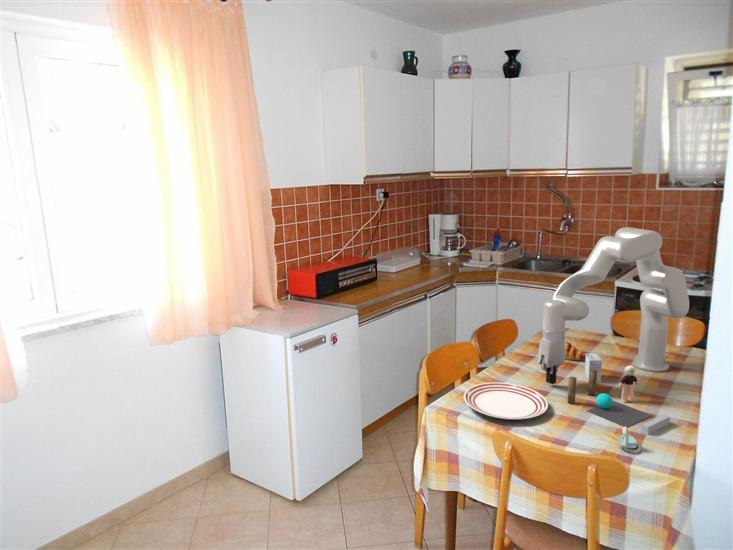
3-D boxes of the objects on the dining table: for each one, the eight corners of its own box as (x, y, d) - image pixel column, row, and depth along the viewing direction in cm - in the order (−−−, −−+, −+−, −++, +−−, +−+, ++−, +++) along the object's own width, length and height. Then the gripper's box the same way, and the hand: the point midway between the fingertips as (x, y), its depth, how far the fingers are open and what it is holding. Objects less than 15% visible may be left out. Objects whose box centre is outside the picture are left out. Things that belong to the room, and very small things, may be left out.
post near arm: (590, 392, 193) (592, 368, 191) (596, 395, 191) (598, 370, 189) (586, 394, 192) (588, 370, 190) (592, 396, 190) (594, 372, 188)
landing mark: (612, 400, 186) (612, 400, 186) (652, 415, 175) (652, 415, 175) (586, 411, 179) (586, 410, 179) (626, 427, 168) (627, 427, 167)
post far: (570, 400, 187) (571, 376, 185) (576, 403, 185) (578, 378, 183) (565, 402, 186) (567, 377, 184) (571, 404, 184) (573, 379, 182)
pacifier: (641, 445, 158) (618, 439, 161) (644, 425, 157) (621, 420, 159) (640, 457, 152) (616, 451, 154) (643, 436, 150) (619, 431, 153)
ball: (617, 397, 179) (613, 410, 180) (604, 389, 183) (601, 403, 185) (607, 399, 177) (603, 412, 178) (594, 391, 181) (591, 405, 182)
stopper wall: (663, 421, 171) (663, 414, 171) (669, 423, 170) (670, 416, 169) (641, 432, 165) (642, 424, 164) (647, 434, 163) (648, 427, 163)
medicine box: (600, 382, 202) (602, 360, 200) (588, 382, 203) (589, 359, 201) (596, 374, 209) (597, 353, 208) (584, 374, 210) (585, 352, 209)
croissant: (535, 359, 236) (531, 346, 232) (545, 344, 241) (542, 330, 237) (584, 371, 221) (580, 356, 217) (593, 354, 227) (590, 340, 223)
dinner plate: (562, 406, 183) (563, 397, 183) (520, 435, 165) (520, 425, 164) (492, 384, 203) (492, 375, 202) (447, 407, 184) (447, 398, 183)
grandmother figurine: (625, 405, 183) (628, 369, 180) (615, 401, 186) (618, 365, 184) (640, 400, 186) (643, 365, 184) (630, 396, 190) (633, 361, 187)
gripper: (558, 328, 202) (555, 374, 206) (530, 335, 194) (528, 384, 198) (575, 333, 196) (572, 381, 200) (548, 341, 188) (545, 391, 192)
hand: (550, 382), depth 199 cm, fingers closed
